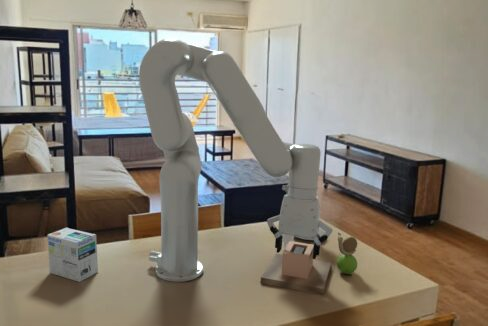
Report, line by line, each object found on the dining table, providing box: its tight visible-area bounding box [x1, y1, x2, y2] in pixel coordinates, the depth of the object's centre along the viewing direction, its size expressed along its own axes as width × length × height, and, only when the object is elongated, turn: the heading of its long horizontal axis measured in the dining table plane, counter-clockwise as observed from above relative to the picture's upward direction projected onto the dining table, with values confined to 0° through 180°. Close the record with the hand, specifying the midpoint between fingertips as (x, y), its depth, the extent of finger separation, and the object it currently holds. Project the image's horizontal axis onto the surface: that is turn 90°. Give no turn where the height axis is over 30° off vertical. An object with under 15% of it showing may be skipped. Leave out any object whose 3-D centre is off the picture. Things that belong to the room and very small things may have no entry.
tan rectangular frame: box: [281, 241, 314, 279], centre depth 117 cm, size 7×9×6 cm
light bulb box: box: [47, 227, 99, 283], centre depth 113 cm, size 11×7×11 cm, turn 65°
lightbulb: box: [282, 234, 295, 250], centre depth 132 cm, size 6×6×11 cm
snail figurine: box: [336, 232, 358, 275], centre depth 118 cm, size 5×6×12 cm
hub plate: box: [260, 247, 332, 295], centre depth 117 cm, size 16×16×7 cm
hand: (296, 254), depth 116 cm, fingers open, 9 cm apart
